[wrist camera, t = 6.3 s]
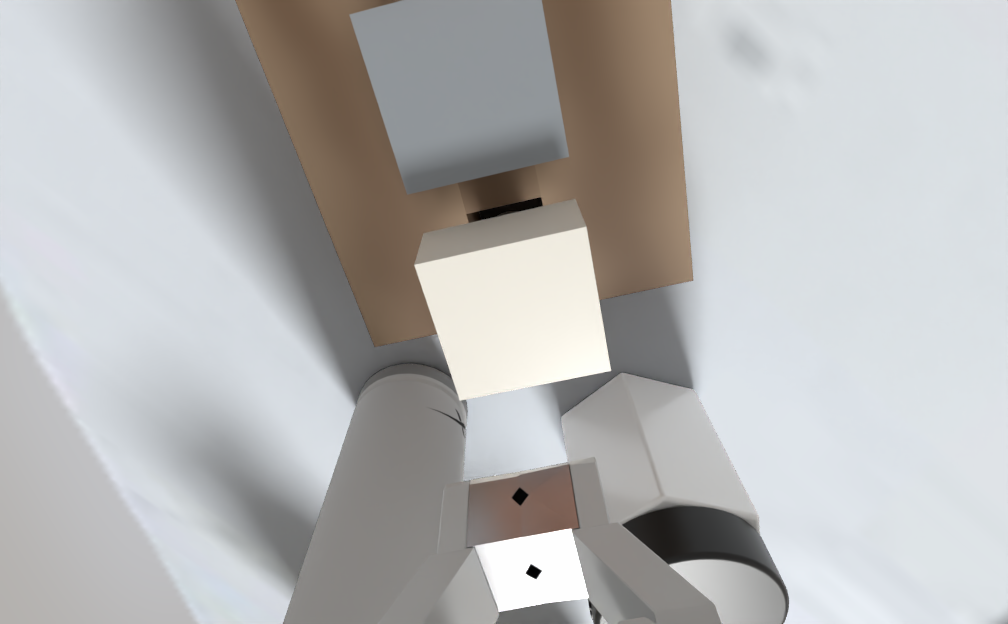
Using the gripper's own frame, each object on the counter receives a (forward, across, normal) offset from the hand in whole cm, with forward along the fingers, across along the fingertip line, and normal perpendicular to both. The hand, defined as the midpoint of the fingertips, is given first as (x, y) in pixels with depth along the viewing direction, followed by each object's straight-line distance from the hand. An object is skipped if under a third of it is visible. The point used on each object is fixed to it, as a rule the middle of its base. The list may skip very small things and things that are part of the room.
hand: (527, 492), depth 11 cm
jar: (+19, -4, +16) cm, 25 cm away
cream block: (+15, 0, 0) cm, 15 cm away
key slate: (+16, 0, -6) cm, 18 cm away
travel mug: (+19, +8, +11) cm, 23 cm away
